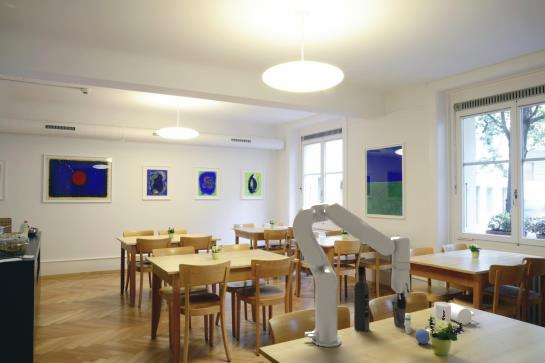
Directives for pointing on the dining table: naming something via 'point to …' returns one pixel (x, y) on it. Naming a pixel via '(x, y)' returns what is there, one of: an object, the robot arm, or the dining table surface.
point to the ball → (422, 336)
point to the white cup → (439, 310)
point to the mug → (461, 314)
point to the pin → (407, 323)
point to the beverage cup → (398, 313)
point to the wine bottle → (361, 302)
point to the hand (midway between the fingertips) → (401, 307)
